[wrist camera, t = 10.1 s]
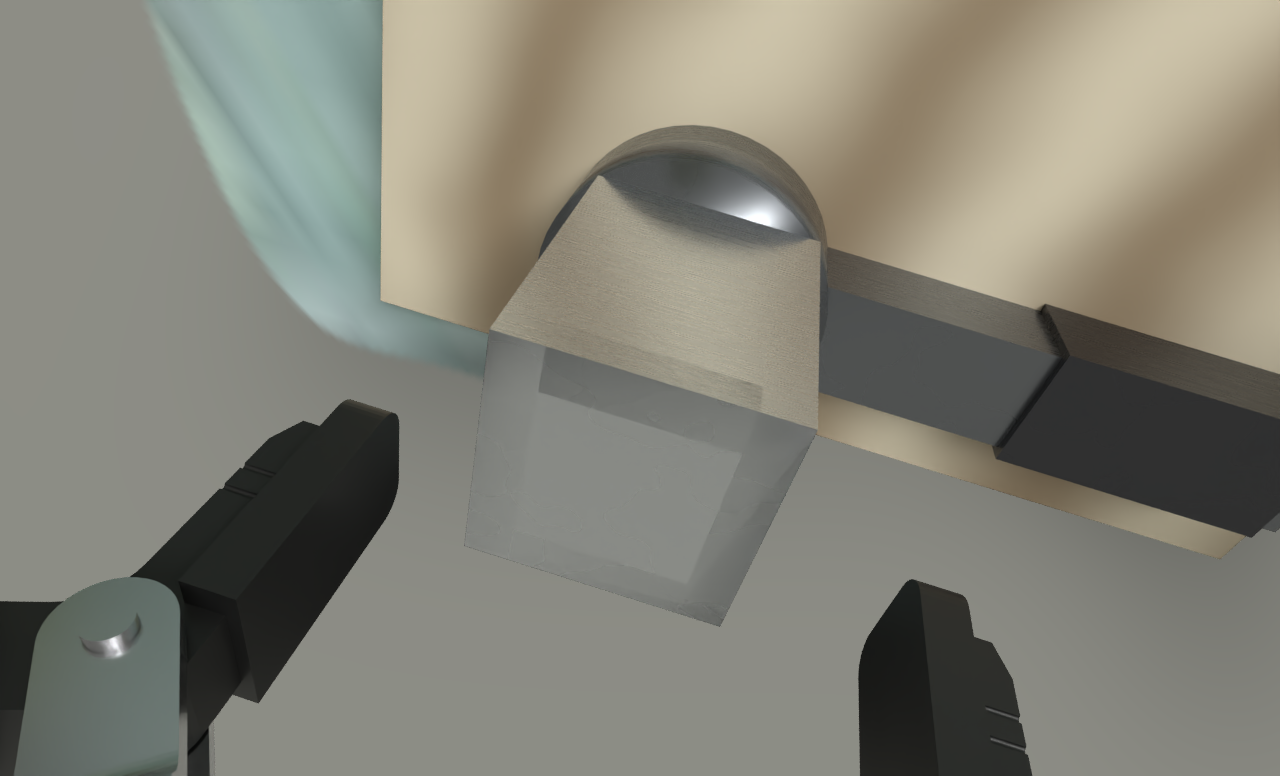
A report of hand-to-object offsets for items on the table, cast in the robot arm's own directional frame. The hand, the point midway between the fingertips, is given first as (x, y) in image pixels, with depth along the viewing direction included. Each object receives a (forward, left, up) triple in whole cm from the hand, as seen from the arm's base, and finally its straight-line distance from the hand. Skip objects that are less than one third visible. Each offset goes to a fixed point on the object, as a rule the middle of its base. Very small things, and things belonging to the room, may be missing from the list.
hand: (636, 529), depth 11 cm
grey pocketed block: (0, 0, -6) cm, 6 cm away
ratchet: (-5, 0, -9) cm, 10 cm away
